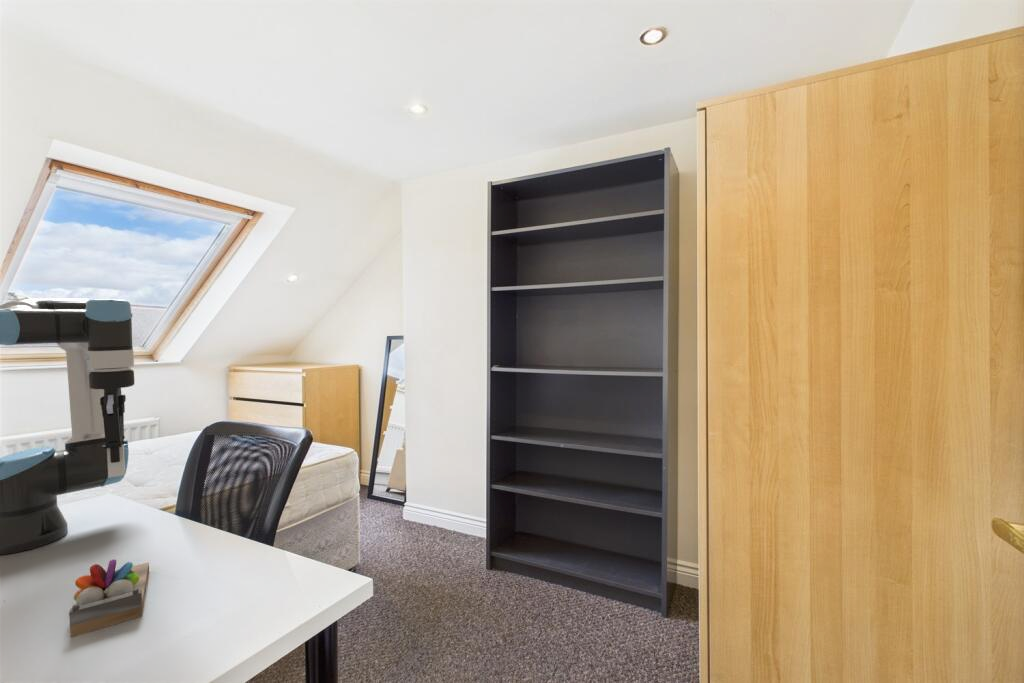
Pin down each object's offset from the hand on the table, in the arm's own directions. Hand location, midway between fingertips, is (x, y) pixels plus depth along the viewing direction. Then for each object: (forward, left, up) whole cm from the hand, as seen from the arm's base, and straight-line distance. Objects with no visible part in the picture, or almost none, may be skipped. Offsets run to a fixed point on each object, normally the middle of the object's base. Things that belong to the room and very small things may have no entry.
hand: (116, 475), depth 102 cm
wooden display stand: (+12, 0, -22) cm, 25 cm away
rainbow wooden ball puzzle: (+15, -1, -21) cm, 25 cm away
